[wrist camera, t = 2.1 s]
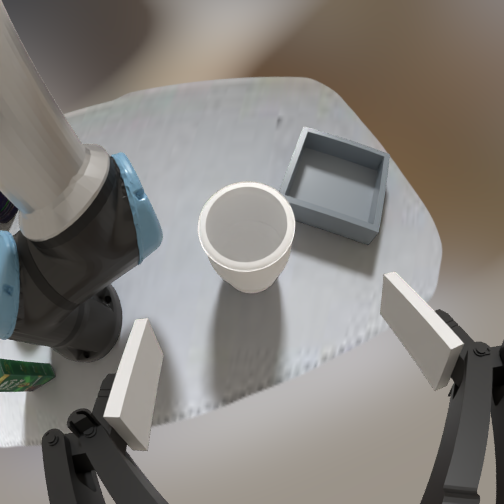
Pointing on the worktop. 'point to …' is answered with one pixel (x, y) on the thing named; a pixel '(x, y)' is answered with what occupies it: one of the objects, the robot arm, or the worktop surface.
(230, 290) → the worktop surface
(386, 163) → the bin
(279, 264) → the white tapered cylinder
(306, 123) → the worktop surface
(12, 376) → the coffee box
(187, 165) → the worktop surface
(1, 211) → the storage jar
